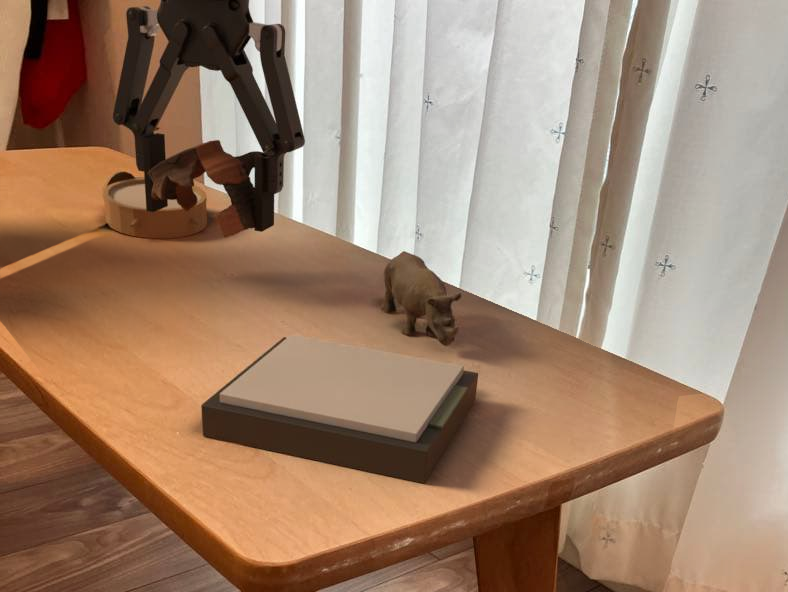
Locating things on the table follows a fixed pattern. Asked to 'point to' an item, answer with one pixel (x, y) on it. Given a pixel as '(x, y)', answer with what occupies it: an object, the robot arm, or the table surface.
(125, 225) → the alarm clock
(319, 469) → the table surface
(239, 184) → the brown jagged curved piece
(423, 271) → the rhino figurine
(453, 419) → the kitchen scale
